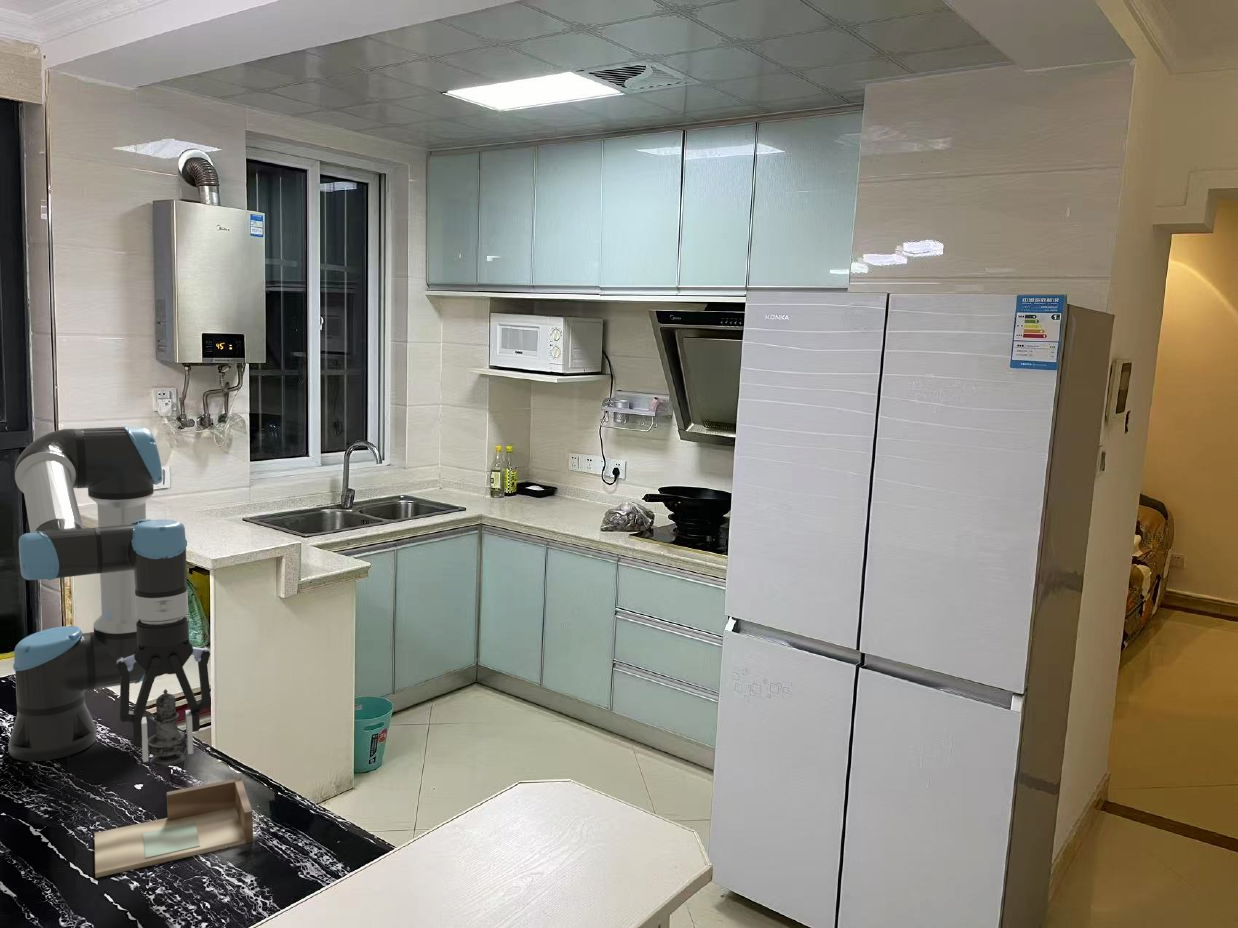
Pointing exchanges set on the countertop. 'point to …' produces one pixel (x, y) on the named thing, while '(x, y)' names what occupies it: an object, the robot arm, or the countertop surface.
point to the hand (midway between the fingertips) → (167, 754)
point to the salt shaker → (167, 734)
